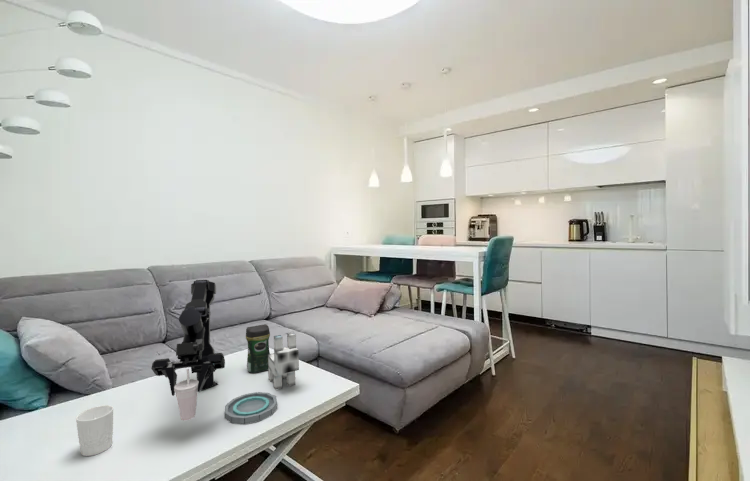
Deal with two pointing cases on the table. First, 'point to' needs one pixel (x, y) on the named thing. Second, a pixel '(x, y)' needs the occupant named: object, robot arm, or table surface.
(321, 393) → the table surface
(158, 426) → the table surface
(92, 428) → the white cup
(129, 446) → the table surface
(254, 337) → the coffee jar
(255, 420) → the tray
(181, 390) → the smoothie
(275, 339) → the toy llama
